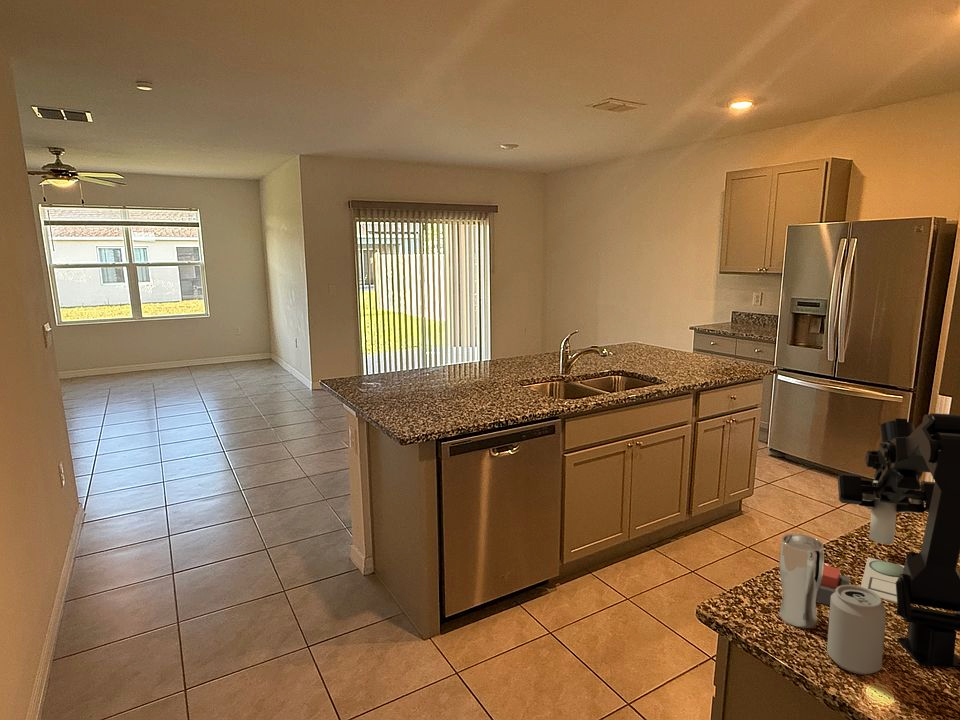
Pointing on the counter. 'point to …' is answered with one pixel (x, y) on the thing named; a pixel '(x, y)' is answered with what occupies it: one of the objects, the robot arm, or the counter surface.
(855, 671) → the can
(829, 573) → the button
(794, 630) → the counter surface
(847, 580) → the button housing
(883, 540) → the ball
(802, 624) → the beer glass
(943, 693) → the counter surface
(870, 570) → the colouring card
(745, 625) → the counter surface
